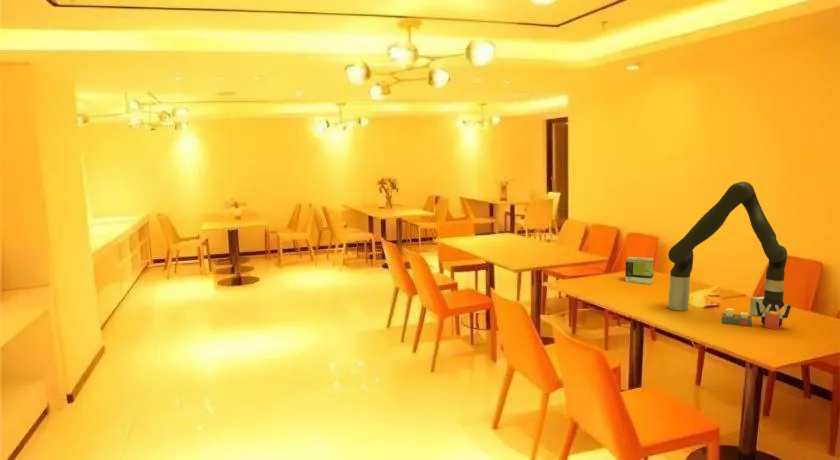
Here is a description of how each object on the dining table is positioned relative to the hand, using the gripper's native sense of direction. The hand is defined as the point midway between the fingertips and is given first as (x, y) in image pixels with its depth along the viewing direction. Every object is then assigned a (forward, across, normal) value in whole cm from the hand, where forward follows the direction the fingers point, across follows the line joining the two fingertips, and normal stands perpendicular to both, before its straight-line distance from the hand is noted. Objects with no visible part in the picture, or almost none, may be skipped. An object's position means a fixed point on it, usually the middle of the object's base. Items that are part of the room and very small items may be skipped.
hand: (771, 325), depth 258 cm
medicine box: (+1, -4, +20) cm, 20 cm away
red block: (+1, 0, 0) cm, 1 cm away
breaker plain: (-1, -17, 0) cm, 17 cm away
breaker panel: (+1, -14, 0) cm, 14 cm away
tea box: (+1, -67, +70) cm, 97 cm away
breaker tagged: (0, -11, 0) cm, 11 cm away
